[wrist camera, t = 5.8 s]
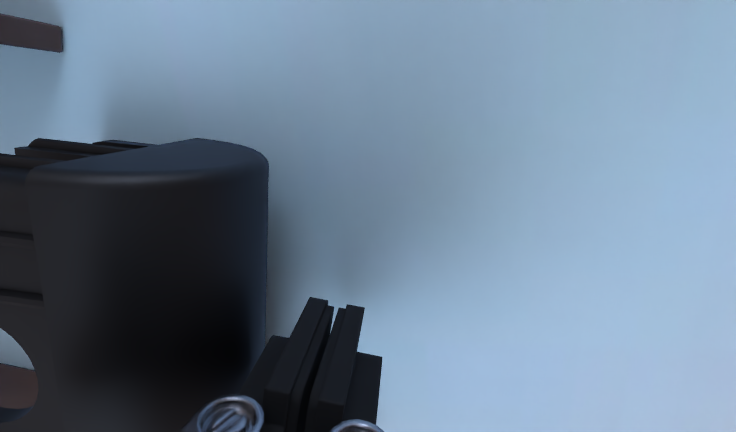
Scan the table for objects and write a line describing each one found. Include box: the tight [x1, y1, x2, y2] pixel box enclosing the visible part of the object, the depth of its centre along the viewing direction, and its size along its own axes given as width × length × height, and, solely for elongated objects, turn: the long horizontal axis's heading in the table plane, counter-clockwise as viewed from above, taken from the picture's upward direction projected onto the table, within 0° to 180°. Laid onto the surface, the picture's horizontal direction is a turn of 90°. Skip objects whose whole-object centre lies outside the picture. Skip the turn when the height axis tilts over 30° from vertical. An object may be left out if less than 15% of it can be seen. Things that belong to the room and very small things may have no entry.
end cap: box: [0, 138, 269, 432], centre depth 11 cm, size 10×7×7 cm
